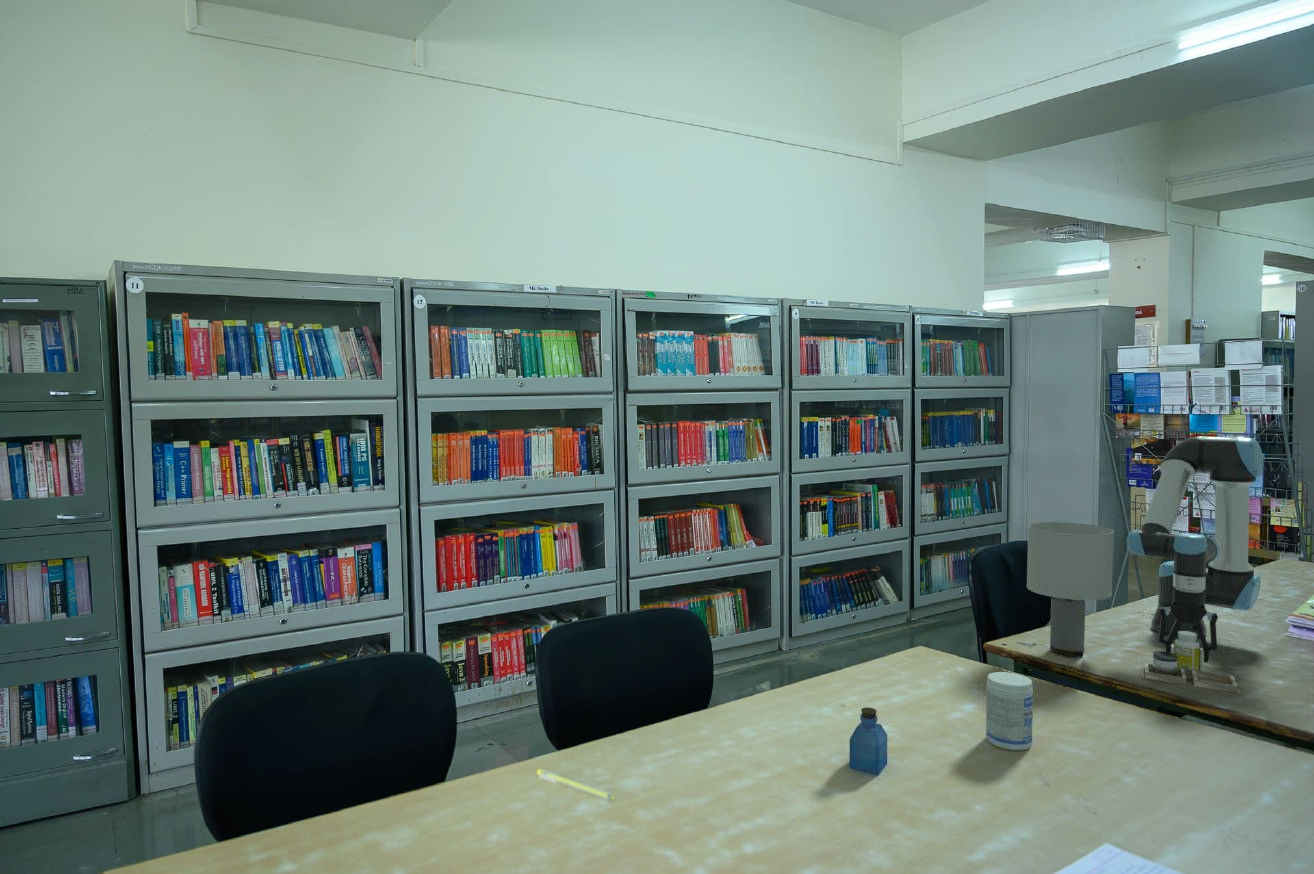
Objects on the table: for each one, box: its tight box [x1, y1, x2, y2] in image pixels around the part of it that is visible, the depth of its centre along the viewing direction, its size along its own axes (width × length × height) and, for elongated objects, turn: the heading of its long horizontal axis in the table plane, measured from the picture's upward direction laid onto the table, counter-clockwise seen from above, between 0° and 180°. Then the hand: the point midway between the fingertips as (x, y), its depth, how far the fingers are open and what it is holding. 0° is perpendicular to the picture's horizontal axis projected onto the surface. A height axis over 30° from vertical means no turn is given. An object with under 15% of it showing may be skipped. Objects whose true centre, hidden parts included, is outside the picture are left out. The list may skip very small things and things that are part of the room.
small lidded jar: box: [1152, 650, 1178, 676], centre depth 214 cm, size 6×6×6 cm
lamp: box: [1026, 521, 1115, 658], centre depth 237 cm, size 23×23×38 cm
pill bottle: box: [1173, 631, 1201, 673], centre depth 221 cm, size 6×6×11 cm
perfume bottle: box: [848, 706, 888, 777], centre depth 166 cm, size 6×6×12 cm
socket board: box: [1140, 662, 1243, 695], centre depth 212 cm, size 11×22×3 cm, turn 59°
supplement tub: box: [985, 671, 1034, 751], centre depth 177 cm, size 10×10×15 cm
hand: (1186, 670), depth 221 cm, fingers closed on pill bottle, 6 cm apart
